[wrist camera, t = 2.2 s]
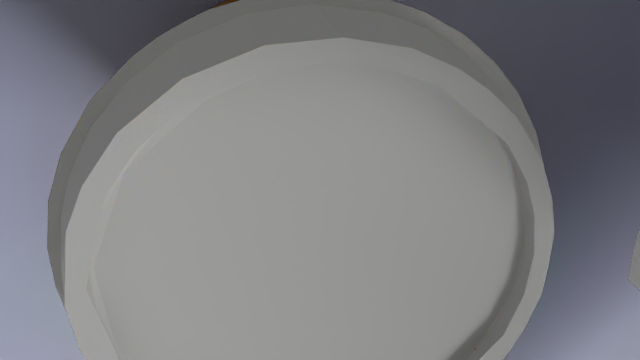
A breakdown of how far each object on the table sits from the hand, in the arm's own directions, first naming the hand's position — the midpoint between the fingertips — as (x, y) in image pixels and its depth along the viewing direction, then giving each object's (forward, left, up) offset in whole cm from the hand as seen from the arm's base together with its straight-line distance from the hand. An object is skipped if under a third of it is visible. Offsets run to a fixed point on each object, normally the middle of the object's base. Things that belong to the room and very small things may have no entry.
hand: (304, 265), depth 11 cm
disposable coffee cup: (0, 0, -12) cm, 12 cm away
